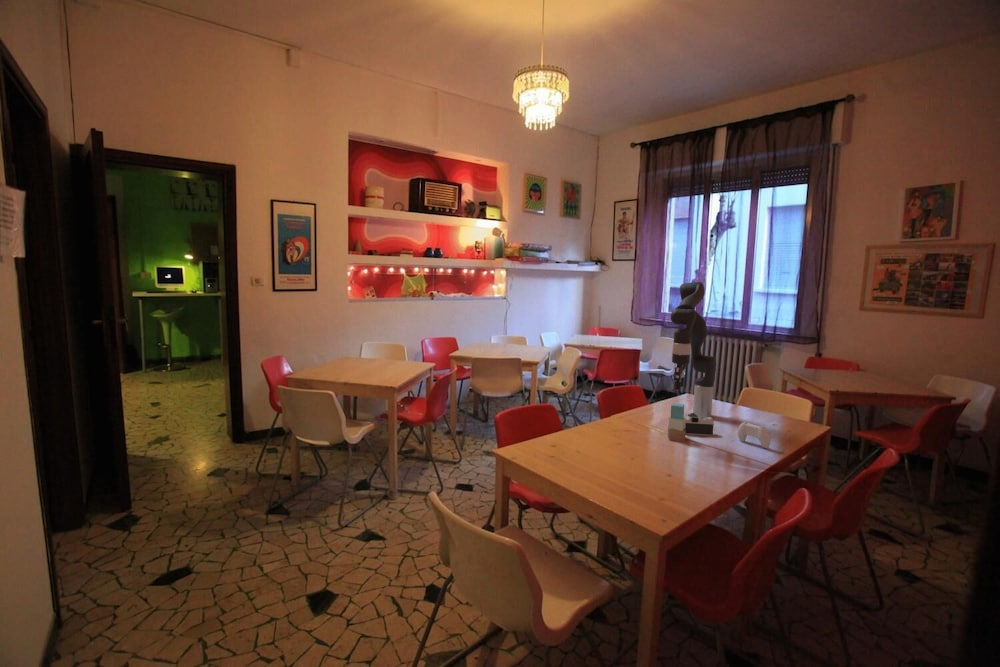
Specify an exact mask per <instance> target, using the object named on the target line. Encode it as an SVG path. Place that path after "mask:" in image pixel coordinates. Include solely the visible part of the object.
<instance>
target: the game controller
mask: <svg viewBox="0 0 1000 667" xmlns="http://www.w3.org/2000/svg"><path fill="white" fill-rule="evenodd" d="M747 436H751V437H755V438H757V439H758V440H759V443H760V446H761V447H762V449H765V448H766V449H769V448H770V446H771V436H770V433H769V431H768V429H767V428H766V427H765V426H762V425H755V424H752V423H749V422H746V421H743V422H741V423H740V424H739V426H738V428H737V438H738V440H739V441H740V442H742V443H743V442H746V439H747ZM766 449H765V450H766Z"/></svg>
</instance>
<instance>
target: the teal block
mask: <svg viewBox="0 0 1000 667" xmlns="http://www.w3.org/2000/svg"><path fill="white" fill-rule="evenodd" d="M684 416H685V404H682V403H674V402H673V403H672V404H671V406H670V417H671V418H673V419H680V420H682V419H683V418H684Z"/></svg>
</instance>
